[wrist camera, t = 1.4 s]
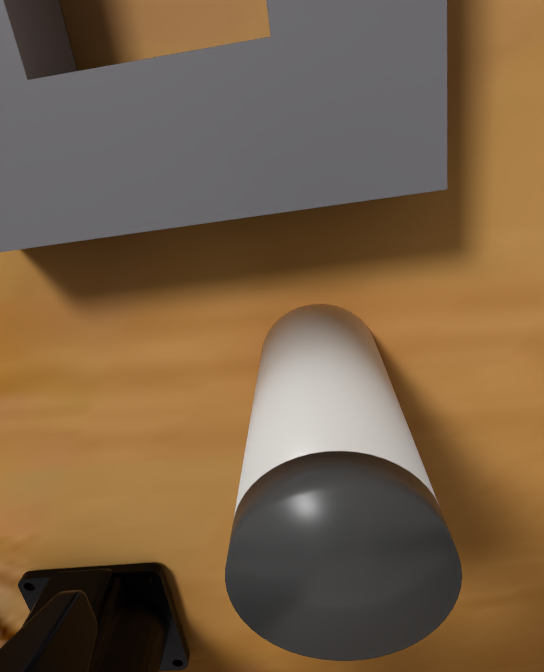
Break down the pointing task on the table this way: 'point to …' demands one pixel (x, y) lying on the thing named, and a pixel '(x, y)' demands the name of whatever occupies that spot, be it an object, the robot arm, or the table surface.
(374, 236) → the table surface
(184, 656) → the robot arm
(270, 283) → the table surface
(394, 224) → the table surface
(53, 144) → the socket block
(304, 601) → the plug
